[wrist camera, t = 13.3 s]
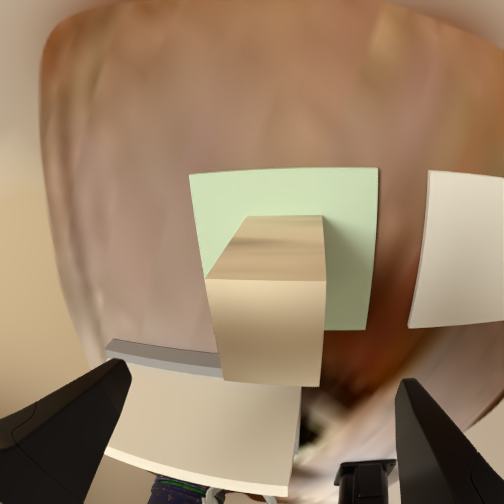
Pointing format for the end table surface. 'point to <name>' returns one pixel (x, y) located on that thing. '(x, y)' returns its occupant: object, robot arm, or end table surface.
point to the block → (271, 301)
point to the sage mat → (300, 203)
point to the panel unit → (204, 422)
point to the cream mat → (461, 252)
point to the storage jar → (180, 492)
